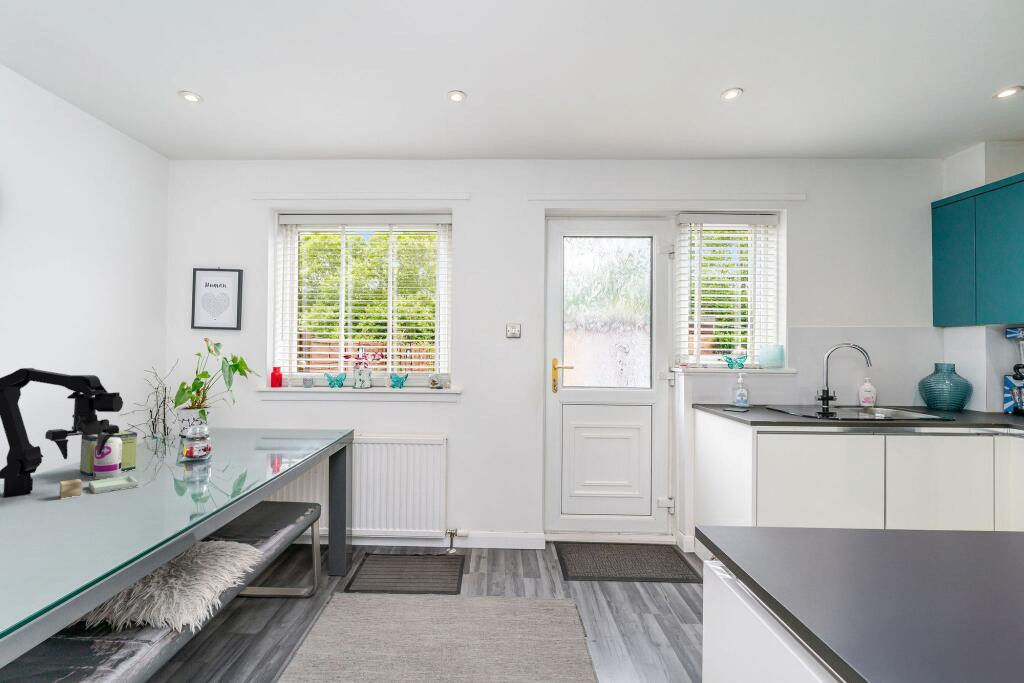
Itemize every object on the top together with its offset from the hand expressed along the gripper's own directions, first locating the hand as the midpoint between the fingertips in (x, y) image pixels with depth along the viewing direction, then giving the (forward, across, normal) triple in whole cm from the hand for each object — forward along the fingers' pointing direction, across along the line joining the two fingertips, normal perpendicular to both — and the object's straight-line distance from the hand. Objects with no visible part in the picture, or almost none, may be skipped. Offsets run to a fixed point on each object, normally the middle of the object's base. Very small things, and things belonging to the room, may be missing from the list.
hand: (82, 456), depth 170 cm
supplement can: (+12, +14, +16) cm, 25 cm away
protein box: (+13, +18, +26) cm, 35 cm away
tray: (+12, +9, -1) cm, 15 cm away
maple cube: (+12, -4, -2) cm, 13 cm away
